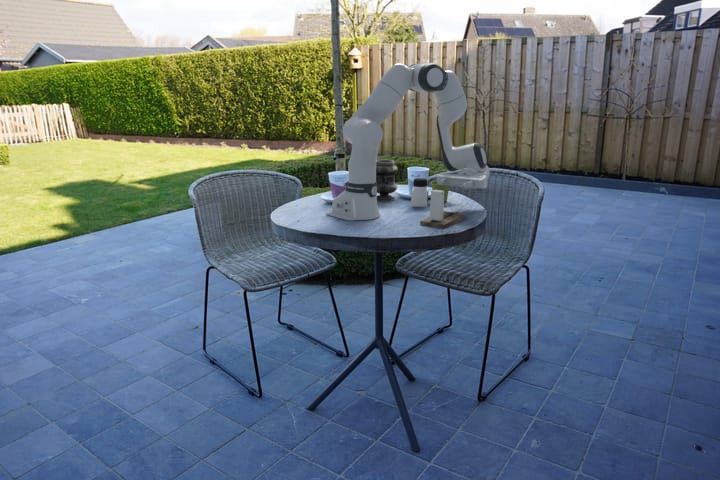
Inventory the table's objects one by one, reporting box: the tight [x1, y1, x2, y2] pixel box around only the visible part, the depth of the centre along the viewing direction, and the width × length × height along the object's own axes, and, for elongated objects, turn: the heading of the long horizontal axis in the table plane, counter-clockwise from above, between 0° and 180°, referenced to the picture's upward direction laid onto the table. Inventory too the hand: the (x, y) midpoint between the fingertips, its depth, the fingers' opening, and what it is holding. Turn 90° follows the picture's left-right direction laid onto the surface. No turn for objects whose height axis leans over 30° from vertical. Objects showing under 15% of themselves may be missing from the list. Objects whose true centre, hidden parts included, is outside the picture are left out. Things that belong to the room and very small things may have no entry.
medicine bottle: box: [410, 177, 429, 208], centre depth 220 cm, size 7×7×12 cm
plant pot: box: [430, 180, 451, 203], centre depth 227 cm, size 9×9×9 cm
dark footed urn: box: [376, 159, 398, 202], centre depth 231 cm, size 12×12×18 cm
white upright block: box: [429, 189, 445, 221], centre depth 188 cm, size 4×3×11 cm
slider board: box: [419, 210, 466, 230], centre depth 195 cm, size 10×19×2 cm, turn 145°
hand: (453, 184), depth 196 cm, fingers open, 8 cm apart
